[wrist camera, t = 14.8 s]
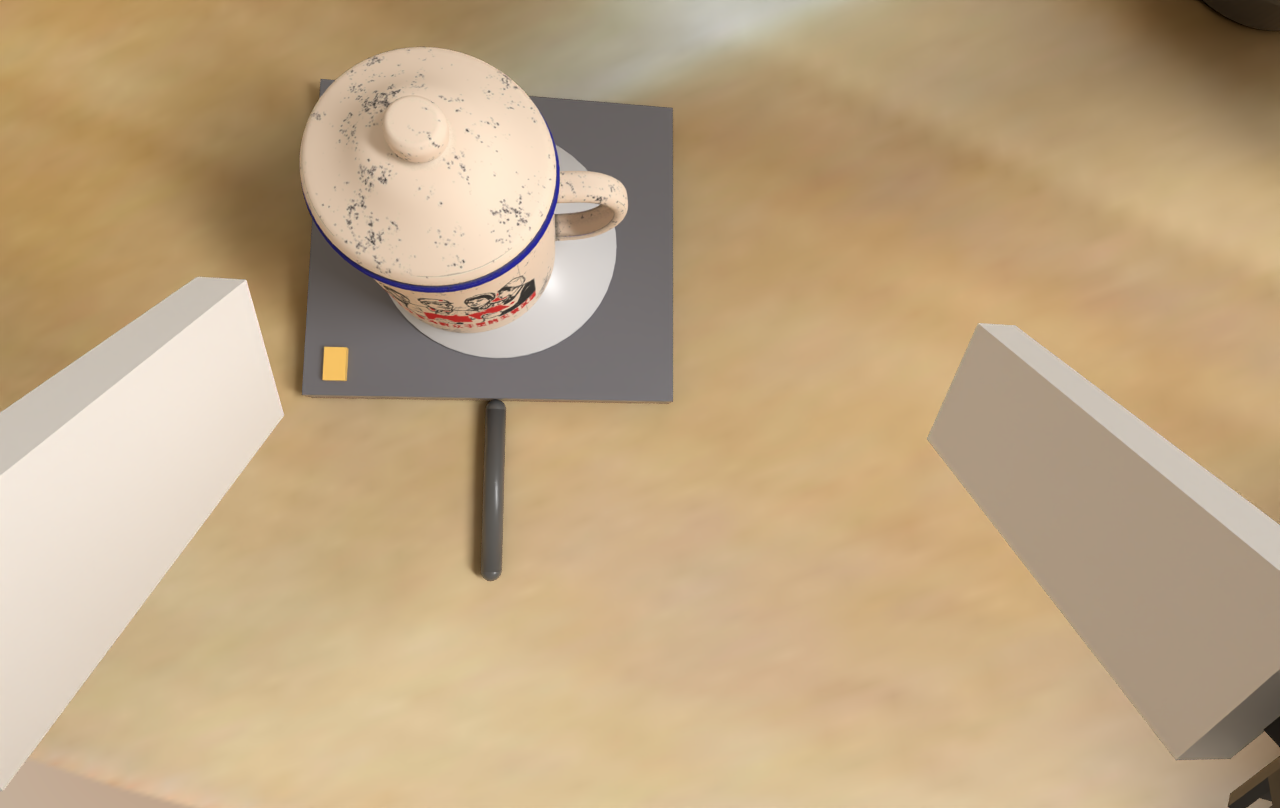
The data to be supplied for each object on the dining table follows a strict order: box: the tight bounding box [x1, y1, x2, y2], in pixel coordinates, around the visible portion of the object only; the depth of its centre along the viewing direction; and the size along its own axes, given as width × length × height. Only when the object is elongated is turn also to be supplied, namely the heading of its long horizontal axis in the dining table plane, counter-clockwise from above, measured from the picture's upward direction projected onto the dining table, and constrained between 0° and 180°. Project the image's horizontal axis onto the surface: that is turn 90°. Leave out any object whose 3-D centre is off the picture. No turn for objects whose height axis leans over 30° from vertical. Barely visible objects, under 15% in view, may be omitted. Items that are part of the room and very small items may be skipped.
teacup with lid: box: [300, 47, 628, 333], centre depth 25 cm, size 12×9×12 cm
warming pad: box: [302, 79, 673, 581], centre depth 31 cm, size 25×18×2 cm
